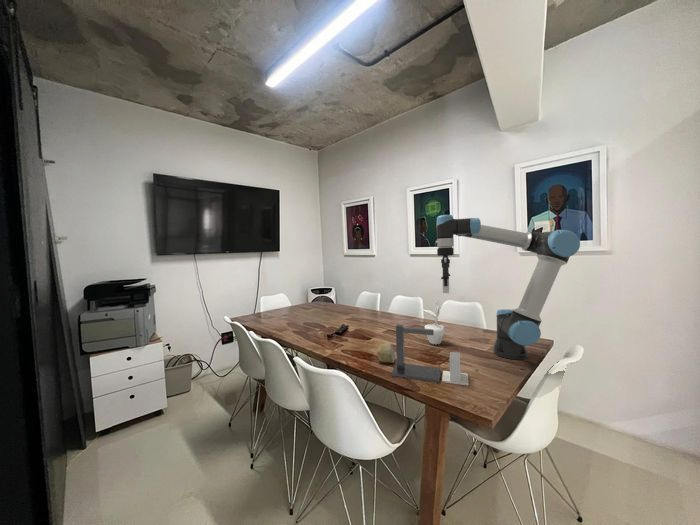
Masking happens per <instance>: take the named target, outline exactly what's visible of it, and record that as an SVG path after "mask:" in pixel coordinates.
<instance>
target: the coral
mask: <svg viewBox="0 0 700 525" xmlns="http://www.w3.org/2000/svg"><path fill="white" fill-rule="evenodd" d="M395 353H396V352H395V348H394V345H393V343H392V342H387V343H381V344H380V345H379V346H378V347H377V350H376V355H377V358H378V360H379V362H381V363H389V364H390V363H391V364H394V363H395V360H396V355H395Z"/></svg>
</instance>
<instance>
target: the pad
mask: <svg viewBox="0 0 700 525" xmlns="http://www.w3.org/2000/svg"><path fill="white" fill-rule="evenodd" d="M441 379H442V380H441V382H442V383H445V384H446V383H447V384H454V385H462V386H469V375H468V373H465V372H460V382H453V381H450V370H449V371H448V370H443V371H442V378H441Z"/></svg>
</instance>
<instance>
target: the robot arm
mask: <svg viewBox="0 0 700 525" xmlns="http://www.w3.org/2000/svg"><path fill="white" fill-rule="evenodd" d="M454 235H455V236H457V237H465V238H470V239H477V240H481V241H486V242H491V243H497V244H501V245H506V246H509V247H510V246H511V247H514V248H515V247H516V248H521V250H522V251H526V252H530V253H534V254H536V257H537V259H538V261H537V264H536V266H535V269H534V270H533V273H532V274H531V277H530V280H529V282H528V283H527V286H526V289H525V291H524V294H523V297H521V301H520V303H519V305H518V307H516V308H514V309H506V308H504V309H497V311H496V316H495V317H496V339H495V342H494V345H493V347H492V348H493V350H492V351H493V352H492V353H493V354H494V355H496V356H498V357H501V358H504V359H508V360H525V359H527V358H528V351H527V350H528V349H527V348H526V347H527V346H531V345H534V344H536V343H537V342H538V341H539V340H540V339H541V335H542V331H541V329H540V325H541V323H542V319H541V318H542V317H540V316H541V312H543V308H544V306H545V304H546V302H547V299H548V296H549V294H550V292H551V290H552V288H553V285H554V283H555V281H556V278H557V276H558V274H559V272H560V269H561V267H562V266H564V265H567V264H568V262H569V260H570V258H571V256H574V255H576V254H577V253H578V252H579V249H580V248H581V240H580V238H579V236H578V235H577V234H576V233H574V232H573V231H572V230H568V229H556V230H551V231H542V232H541V231H540V232H536V231H535V232H534V231H531V230H530V231H526V232H522V231H516V230H511V229H506V228H501V227H495V226H491V225H484V224H482V222H481V219H480V218H479V217H471V218H468V217H467V218H454V216H453V215H452V214H443V215H439V216H437V217H436V240H435V243H436V246H437V249H436V254H437V256H439V257H441V256H442V258H441V261H440V262H441V268H442V276H441V278H440V280H442V294H450V277H451V274H450V273H449V271H450V270H449V268H450V263H451V259H450V258H449V256H454V255H455V254H454V251H455V250H454V245H455V244H454V240H455V239H454Z"/></svg>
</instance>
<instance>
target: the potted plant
mask: <svg viewBox="0 0 700 525" xmlns="http://www.w3.org/2000/svg"><path fill="white" fill-rule="evenodd" d="M435 304H436V305H437V308H436V313H435V312H434V311H432V310H429V309H421V310H422V311H423V312H425V313H427V314H429V315H431V316H432V317H433V318H435V319H434V323H429V324H426V325H424V329H434V335H426V338H427V339H428V340H427V341H428V343H429V344H431V345H434V344H435V345H437V344H438V345H440V344H441V343H442V340H443V337H444V336H445V335H446V331H445V330H446V329H445V328H446V327H445V325H443V324H441V325H440V324H438V319H439V318H438V317H439V315H440V309H441V308H442V305H440V302H439V301H437V303H435Z"/></svg>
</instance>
